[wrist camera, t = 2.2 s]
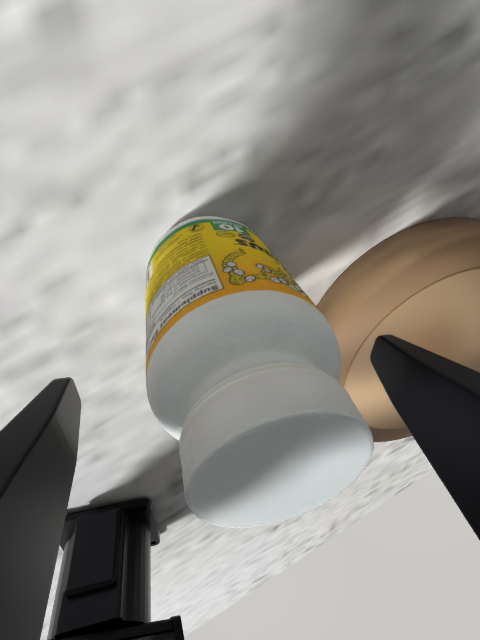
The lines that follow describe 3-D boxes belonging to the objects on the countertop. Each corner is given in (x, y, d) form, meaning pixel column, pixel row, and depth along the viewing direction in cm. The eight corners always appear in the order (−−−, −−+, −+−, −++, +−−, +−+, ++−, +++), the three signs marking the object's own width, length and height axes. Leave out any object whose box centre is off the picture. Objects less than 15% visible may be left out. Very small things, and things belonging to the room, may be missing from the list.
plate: (456, 395, 25) (485, 422, 23) (286, 427, 22) (301, 462, 20) (563, 211, 17) (623, 227, 15) (321, 223, 14) (351, 245, 12)
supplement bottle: (118, 269, 13) (73, 511, 5) (219, 182, 12) (344, 322, 4) (202, 342, 16) (252, 561, 8) (288, 276, 15) (433, 456, 7)
